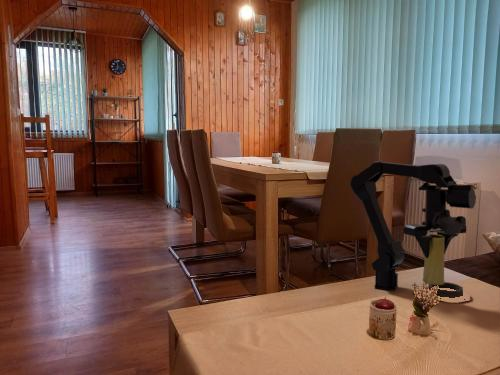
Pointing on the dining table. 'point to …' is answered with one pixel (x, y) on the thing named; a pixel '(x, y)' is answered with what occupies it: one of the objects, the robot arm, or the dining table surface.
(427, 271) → the vase
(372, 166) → the robot arm
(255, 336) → the dining table surface
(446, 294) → the stand
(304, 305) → the dining table surface
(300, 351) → the dining table surface
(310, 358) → the dining table surface
